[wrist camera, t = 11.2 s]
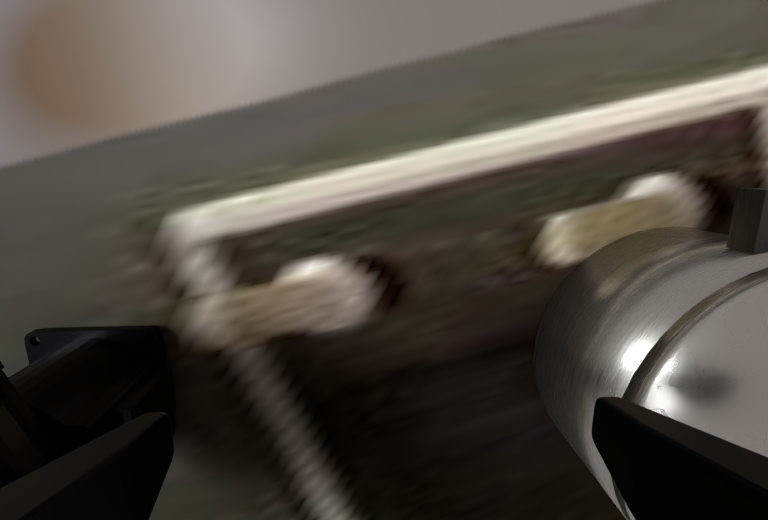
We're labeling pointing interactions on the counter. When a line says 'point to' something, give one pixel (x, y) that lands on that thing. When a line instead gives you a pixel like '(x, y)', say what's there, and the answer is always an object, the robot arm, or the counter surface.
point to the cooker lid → (712, 368)
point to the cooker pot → (633, 313)
